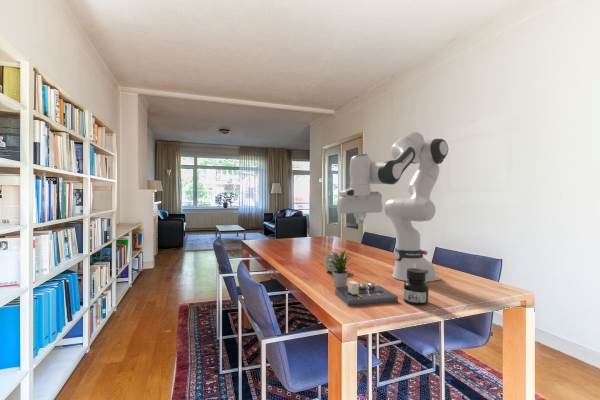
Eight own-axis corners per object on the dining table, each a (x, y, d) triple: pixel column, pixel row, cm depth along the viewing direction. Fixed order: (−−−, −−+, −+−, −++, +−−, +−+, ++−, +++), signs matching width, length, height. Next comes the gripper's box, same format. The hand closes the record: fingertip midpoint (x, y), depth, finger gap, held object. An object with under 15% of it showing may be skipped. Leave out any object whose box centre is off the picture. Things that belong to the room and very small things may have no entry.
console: (379, 290, 127) (379, 281, 127) (397, 302, 114) (398, 292, 114) (335, 293, 123) (335, 284, 123) (348, 306, 109) (348, 295, 109)
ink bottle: (398, 301, 114) (399, 270, 114) (407, 295, 121) (407, 266, 121) (425, 308, 108) (425, 275, 108) (432, 301, 115) (433, 270, 115)
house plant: (327, 279, 144) (328, 245, 143) (356, 281, 140) (357, 246, 139) (320, 287, 130) (320, 250, 130) (352, 291, 126) (353, 252, 126)
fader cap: (353, 290, 119) (353, 280, 119) (358, 294, 115) (358, 283, 115) (348, 291, 119) (348, 281, 119) (352, 294, 115) (352, 284, 115)
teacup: (330, 267, 166) (331, 253, 166) (348, 270, 160) (348, 255, 160) (317, 272, 155) (317, 257, 155) (335, 276, 149) (336, 260, 148)
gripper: (377, 191, 136) (377, 221, 136) (335, 191, 131) (335, 223, 131) (385, 191, 130) (385, 223, 130) (341, 191, 125) (341, 225, 125)
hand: (360, 223), depth 131 cm, fingers closed
